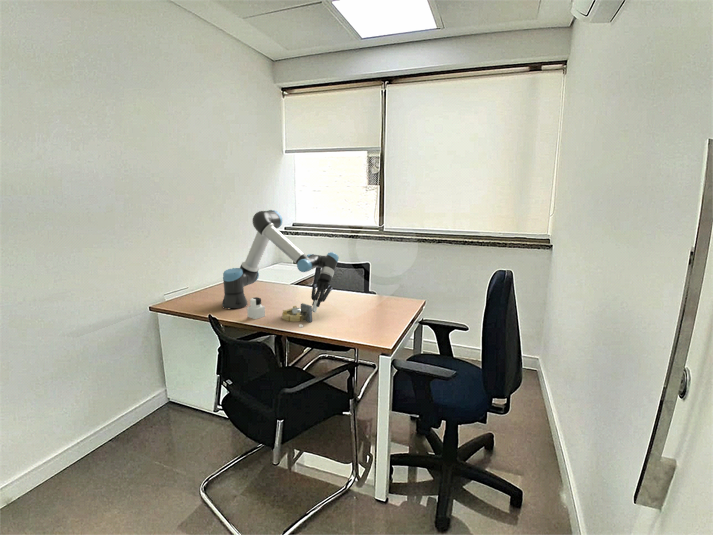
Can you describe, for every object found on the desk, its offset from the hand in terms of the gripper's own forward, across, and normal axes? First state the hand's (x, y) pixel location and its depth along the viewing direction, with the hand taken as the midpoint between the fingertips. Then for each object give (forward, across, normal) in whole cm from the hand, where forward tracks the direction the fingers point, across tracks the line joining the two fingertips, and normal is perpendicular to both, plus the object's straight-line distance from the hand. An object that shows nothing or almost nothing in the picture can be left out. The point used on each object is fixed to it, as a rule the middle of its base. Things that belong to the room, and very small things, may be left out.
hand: (313, 311), depth 209 cm
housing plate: (+5, +10, -3) cm, 12 cm away
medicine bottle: (+10, +32, +2) cm, 34 cm away
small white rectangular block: (+13, +1, +5) cm, 14 cm away
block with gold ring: (+4, +8, -2) cm, 9 cm away
